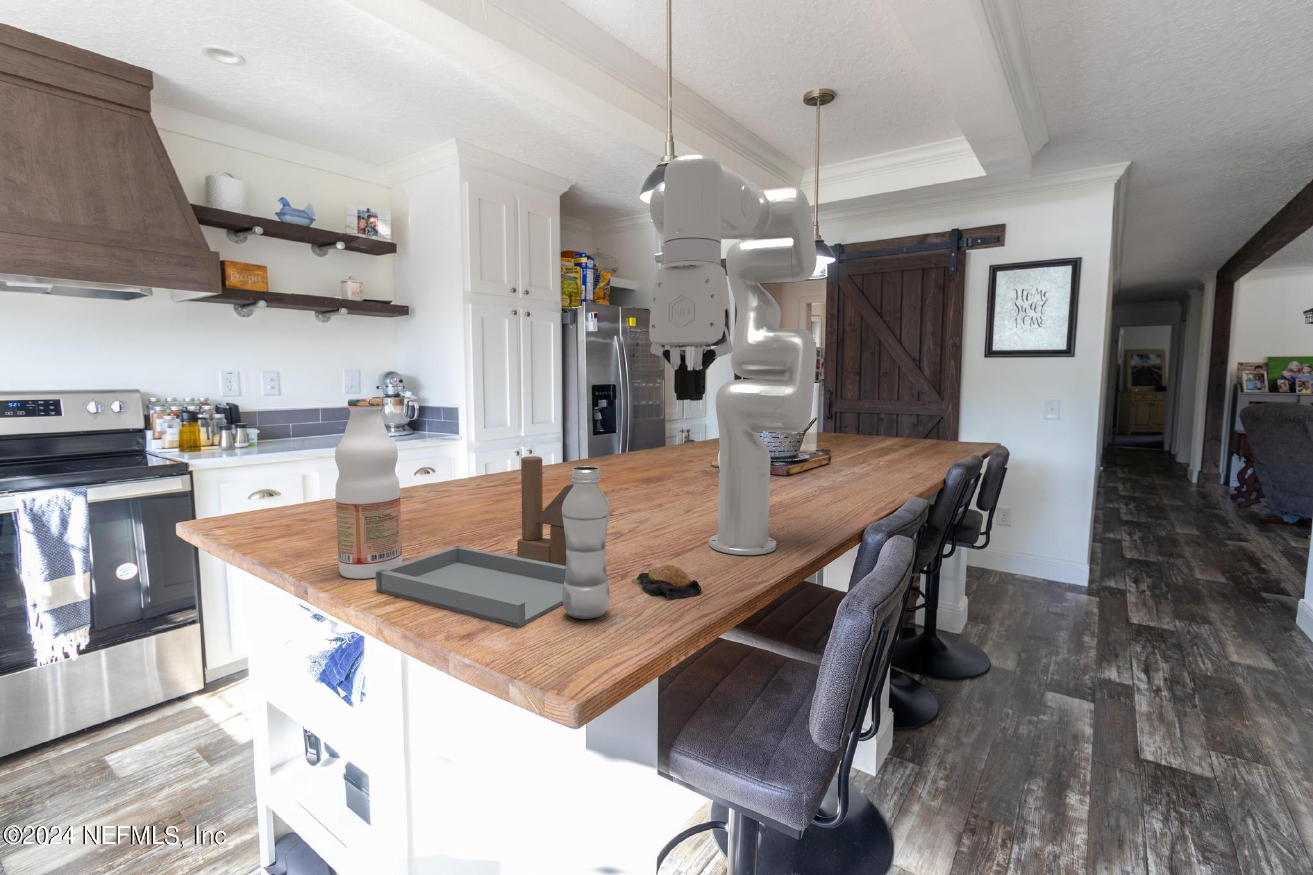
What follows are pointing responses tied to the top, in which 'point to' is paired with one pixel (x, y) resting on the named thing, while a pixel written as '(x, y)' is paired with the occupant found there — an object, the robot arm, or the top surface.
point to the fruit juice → (367, 494)
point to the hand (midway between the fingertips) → (689, 399)
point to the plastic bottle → (585, 546)
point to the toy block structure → (540, 517)
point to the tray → (478, 584)
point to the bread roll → (667, 583)
